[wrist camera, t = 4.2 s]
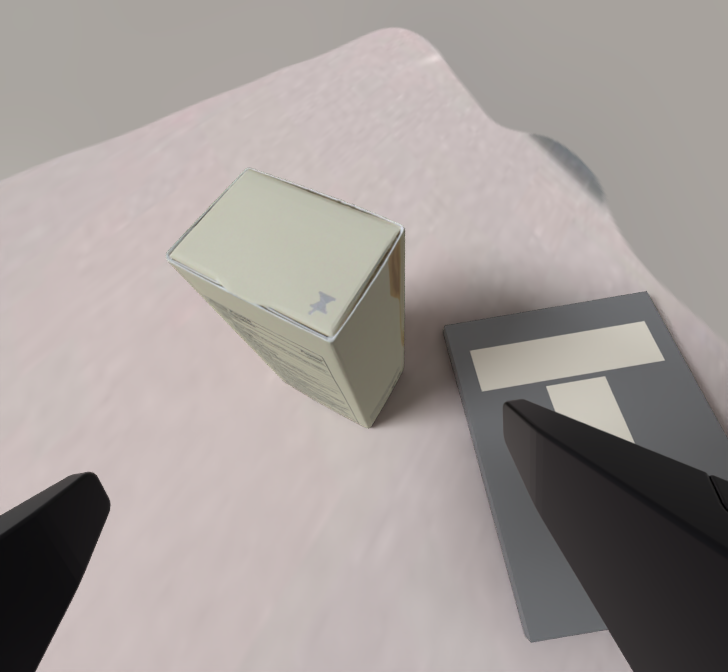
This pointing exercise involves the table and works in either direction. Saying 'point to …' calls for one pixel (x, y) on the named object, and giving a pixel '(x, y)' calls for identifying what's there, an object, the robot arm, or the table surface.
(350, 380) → the skincare box
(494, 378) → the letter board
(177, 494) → the table surface
